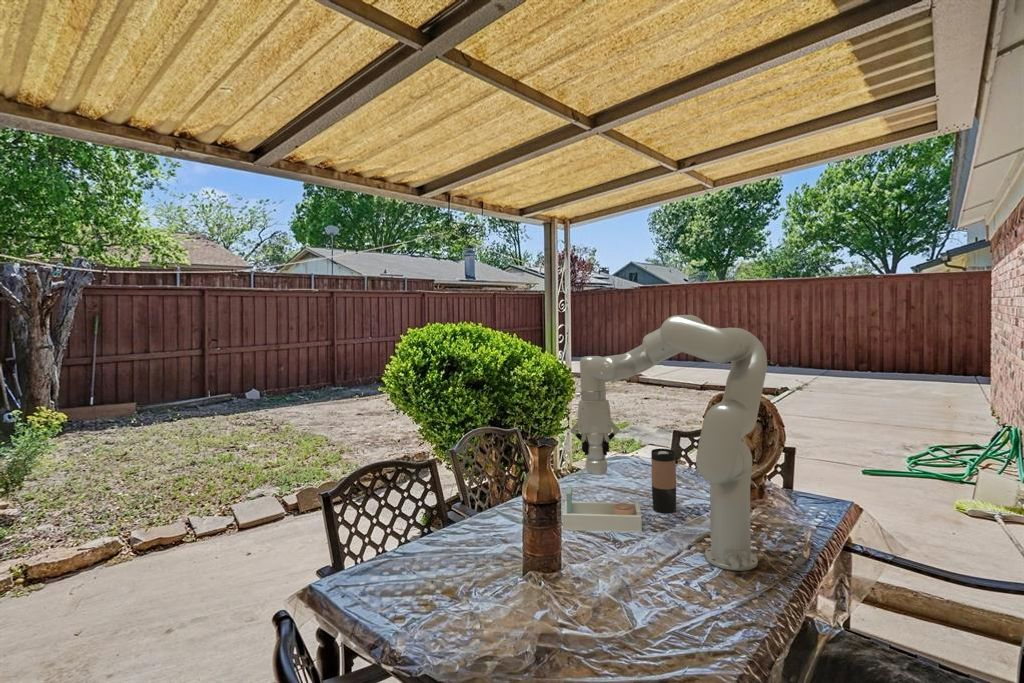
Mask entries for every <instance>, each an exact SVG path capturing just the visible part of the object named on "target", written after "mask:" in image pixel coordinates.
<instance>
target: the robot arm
mask: <svg viewBox="0 0 1024 683" xmlns="http://www.w3.org/2000/svg"><path fill="white" fill-rule="evenodd" d="M681 353H684V354H686V355H690V356H693V357H696V358H698V359H702V360H703V361H707V362H711V363H715V364H724V363H725V364H726V363H729V362H730V363H731V367H730V370H729V373H728V375H727V377H726V382H725V389H724V391H723V397H722V400H721V401H720V402H717V403H716V404H714V405H712V406H710V408H709V409H708V410H707V411H706V414H705V415H704V418H703V421H702V426H701V430H700V435H699V441H698V447H697V450H696V456H695V465H696V469H697V471H698V474H699V475H700V477H701V478H702V479H704V480H705V481H706V482H707V483H710V487H709V491H710V492H709V505H710V506H709V508H710V510H709V511H710V512H709V513H710V518H709V519H710V546H709V547H708V548H707V549H705V551H704V558H705V560H706V561H707V562H708V563H709V564H711V565H712V566H715V567H718V568H720V569H723V570H728V571H739V572H744V571H749V570H753V569H754V568H757V566H758V561H759V560H758V557H757V555H756V554H754V553H753V552H752V551H751V550H752V549H751V548H752V544H751V541H752V539H751V537H752V536H751V535H752V534H751V481H752V480H751V479H752V471H753V455H752V452H751V449H750V448H749V446H748V445H747V444H746V443H745V442H744V441H743V437H745V436H746V435H748V434H750V433H751V432H752V431H754V429H755V427H756V425H757V420H758V414H759V410H760V405H761V400H762V396H763V395H762V394H763V389H764V385H765V384H764V383H765V379H766V376H767V375H766V374H767V370H768V368H767V367H768V359H767V358H768V357H767V352H766V349H765V347H764V345H763V343H762V341H760V340H759V338H758V337H756V335H755V334H753V333H752V332H750V331H748V330H746V329H744V328H740V327H723V328H719V327H716V326H712V325H708V324H705V323H704V321H703V320H702V319H701V318H699V317H698V316H696V315H693V314H683V315H682V314H678V315H677V314H676V315H675V314H674V315H672V316H670V317H668V318H667V319H665V320H664V321H663V323H662V324H661V327H659V328H658V329H656V330H654V331H651V332H650V333H648V334H646V335H645V336H644V337H643V339H642V343H641V344H640V345H638V346H637V347H635V348H633V349H631V350H629V351H627V352H625V353H621V354H615V355H607V356H600V355H587V356H581V358H580V360H579V374H580V377H579V378H580V391H579V392H576V398H580V399H581V400H579V401H578V404H577V405H578V407H577V421H576V423H574V425H573V426H572V427H571V428H570V431H569V432H570V433H571V434H573V435H574V436H575V437H576V438H577V439H578V440H579V441H580V442H581V452H582V453H584V456H587V442H586V434H590V433H592V432H591V430H590V429H591V428H592V427H593V426H596V427H598V428H599V432H598V433H600V434H604V438H605V442H604V451H605V456H608V453H610V444H609V443H610V442H611V440H612V439H613V438H614V437H616V435H618V434H619V432H620V430H621V429H620V428H619V427H618V426H617V425H616V424H615V423H614V422H613V420H612V415H611V406H610V402H609V400H608V399H607V395H606V392H607V391H606V382H616V381H620V380H624V379H625V380H627V379H630V378H632V377H635V376H637V375H639V374H641V373H643V372H645V371H647V370H649V369H651V368H653V367H655V366H657V365H658V364H660V363H662V362H664V361H666V360H668V359H670V358H672V357H674V356H676V355H678V354H681ZM612 429H613V431H612Z"/></svg>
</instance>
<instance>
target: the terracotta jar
mask: <svg viewBox="0 0 1024 683" xmlns="http://www.w3.org/2000/svg"><path fill="white" fill-rule="evenodd" d="M618 503H619V504H616V505H615V506H614V515H634V507H633V506H632V505H630V504H627V503H628V502H618Z"/></svg>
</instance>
